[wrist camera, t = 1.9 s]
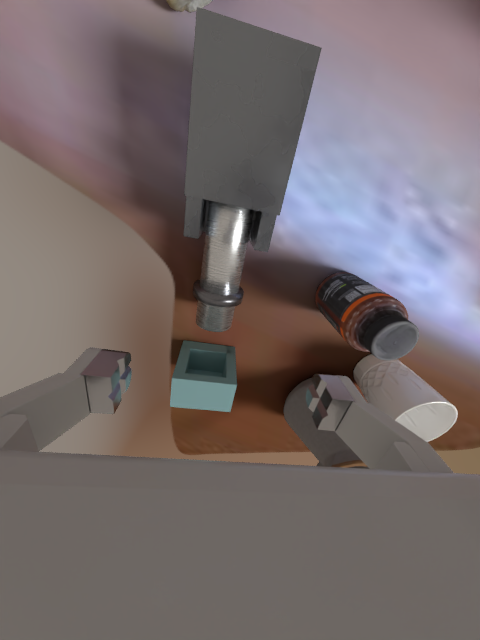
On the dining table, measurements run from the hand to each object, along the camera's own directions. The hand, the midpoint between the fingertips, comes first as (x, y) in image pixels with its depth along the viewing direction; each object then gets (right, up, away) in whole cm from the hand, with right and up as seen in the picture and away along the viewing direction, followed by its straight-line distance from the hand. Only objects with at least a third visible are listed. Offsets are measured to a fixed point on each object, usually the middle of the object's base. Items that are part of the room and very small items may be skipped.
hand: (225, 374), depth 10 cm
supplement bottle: (+13, +6, +19) cm, 24 cm away
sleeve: (0, +17, +12) cm, 21 cm away
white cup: (+22, -5, +25) cm, 34 cm away
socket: (-4, -3, +22) cm, 23 cm away
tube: (-1, +12, +13) cm, 18 cm away
